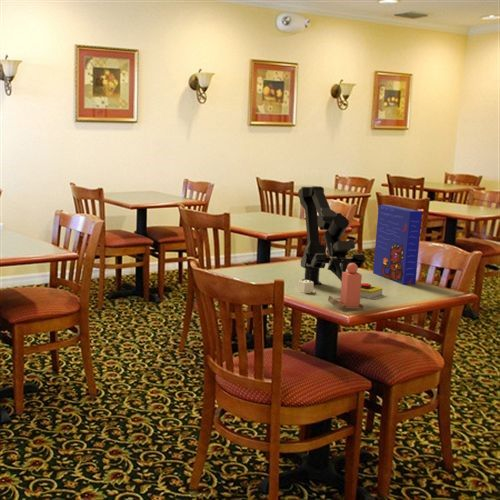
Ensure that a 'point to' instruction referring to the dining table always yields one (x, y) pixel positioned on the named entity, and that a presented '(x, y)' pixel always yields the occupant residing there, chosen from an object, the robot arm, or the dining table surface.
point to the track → (342, 307)
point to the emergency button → (370, 291)
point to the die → (305, 286)
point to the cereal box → (397, 243)
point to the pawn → (351, 286)
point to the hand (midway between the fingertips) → (343, 281)
